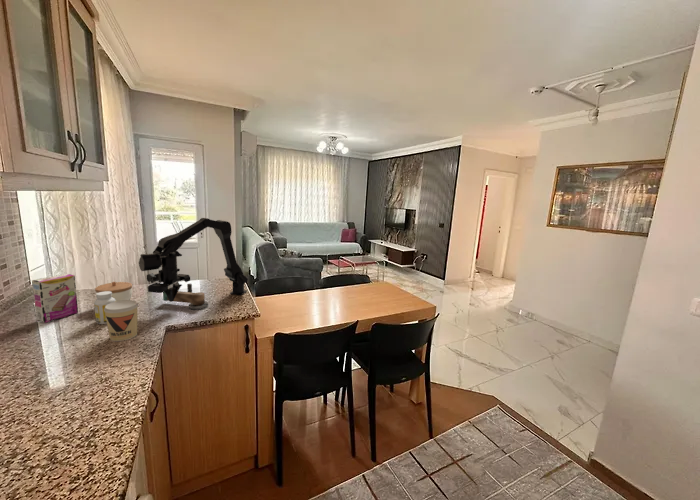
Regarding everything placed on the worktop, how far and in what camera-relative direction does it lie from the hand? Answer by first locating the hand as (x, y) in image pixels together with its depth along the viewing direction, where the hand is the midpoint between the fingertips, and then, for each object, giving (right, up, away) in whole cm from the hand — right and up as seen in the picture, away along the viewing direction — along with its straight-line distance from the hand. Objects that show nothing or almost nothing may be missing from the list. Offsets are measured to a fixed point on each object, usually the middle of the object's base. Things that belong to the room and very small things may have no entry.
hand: (171, 301), depth 126 cm
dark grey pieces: (+4, -2, +12) cm, 13 cm away
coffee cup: (-2, -8, -23) cm, 25 cm away
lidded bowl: (-26, -2, +2) cm, 26 cm away
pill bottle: (-17, -6, -13) cm, 23 cm away
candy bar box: (-37, -4, -12) cm, 39 cm away
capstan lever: (+2, -1, +7) cm, 7 cm away
